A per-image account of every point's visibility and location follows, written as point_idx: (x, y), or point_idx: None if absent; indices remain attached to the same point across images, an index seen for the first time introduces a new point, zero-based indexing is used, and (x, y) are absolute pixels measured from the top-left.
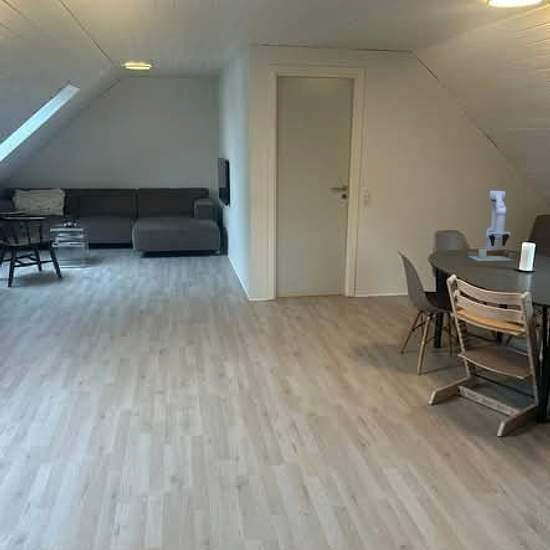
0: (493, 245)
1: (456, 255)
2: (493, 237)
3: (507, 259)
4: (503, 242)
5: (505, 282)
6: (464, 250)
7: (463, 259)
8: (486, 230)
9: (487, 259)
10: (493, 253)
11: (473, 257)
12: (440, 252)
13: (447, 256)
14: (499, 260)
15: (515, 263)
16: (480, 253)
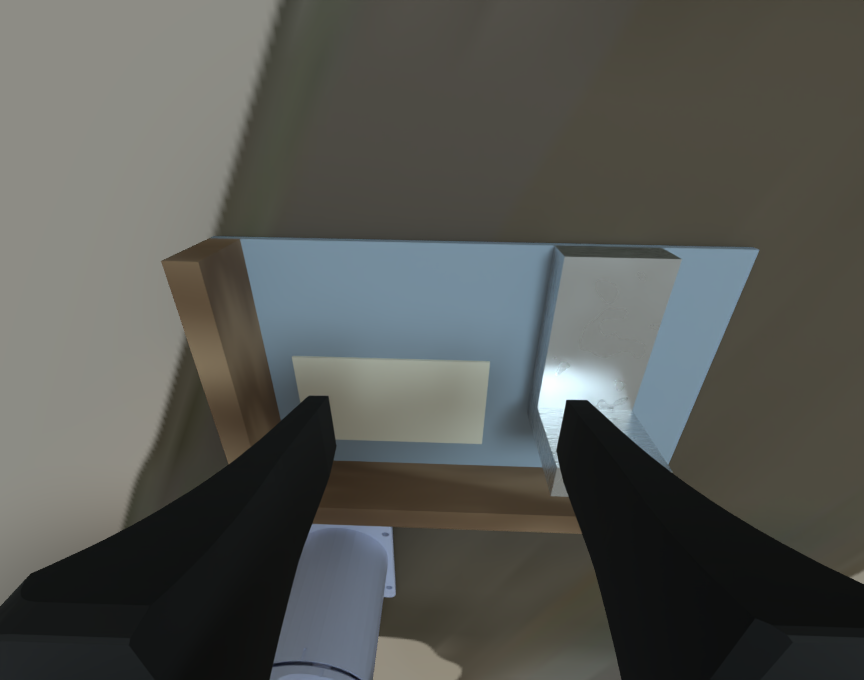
0: (583, 408)
1: None
2: (841, 596)
3: (304, 287)
4: (306, 478)
5: None
6: (504, 638)
7: (804, 385)
8: None
9: (625, 251)
10: (386, 483)
11: (651, 425)
12: None
13: (832, 510)
14: (439, 243)
15: (262, 60)
16: (625, 428)
